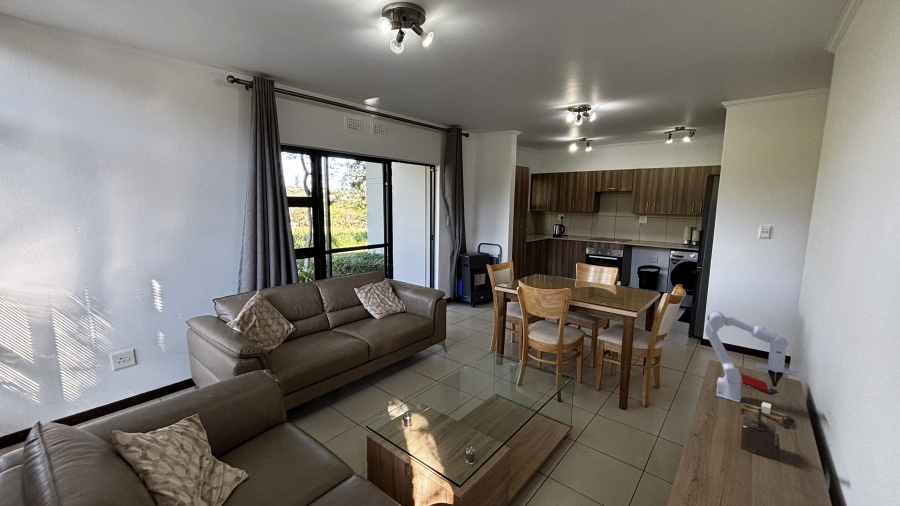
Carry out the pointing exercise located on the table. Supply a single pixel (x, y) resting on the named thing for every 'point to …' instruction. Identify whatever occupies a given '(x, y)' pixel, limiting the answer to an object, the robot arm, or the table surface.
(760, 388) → the handheld game console
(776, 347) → the robot arm
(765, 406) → the block
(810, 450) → the table surface
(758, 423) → the dark brown boxy piece
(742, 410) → the brown wooden frame
